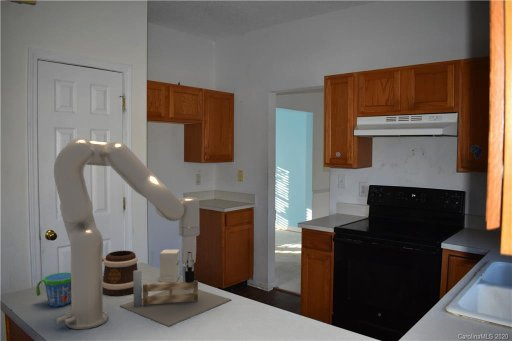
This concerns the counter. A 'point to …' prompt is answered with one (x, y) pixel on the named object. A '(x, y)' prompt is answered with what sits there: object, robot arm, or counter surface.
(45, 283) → the snack cup
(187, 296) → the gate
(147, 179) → the robot arm
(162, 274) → the supplement box
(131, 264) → the mug
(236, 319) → the counter surface
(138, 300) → the gate frame
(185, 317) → the taupe mat
